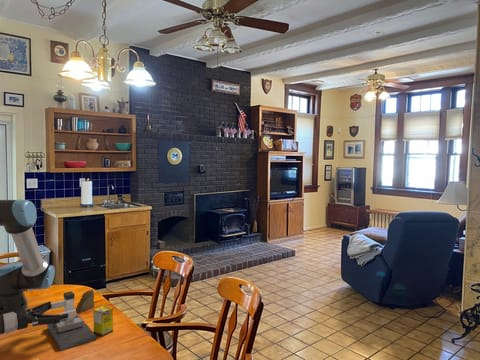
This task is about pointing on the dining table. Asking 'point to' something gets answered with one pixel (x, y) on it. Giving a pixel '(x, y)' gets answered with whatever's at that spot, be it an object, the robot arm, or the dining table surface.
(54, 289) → the dining table surface
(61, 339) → the base
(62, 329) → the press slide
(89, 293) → the rock
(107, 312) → the supplement box
